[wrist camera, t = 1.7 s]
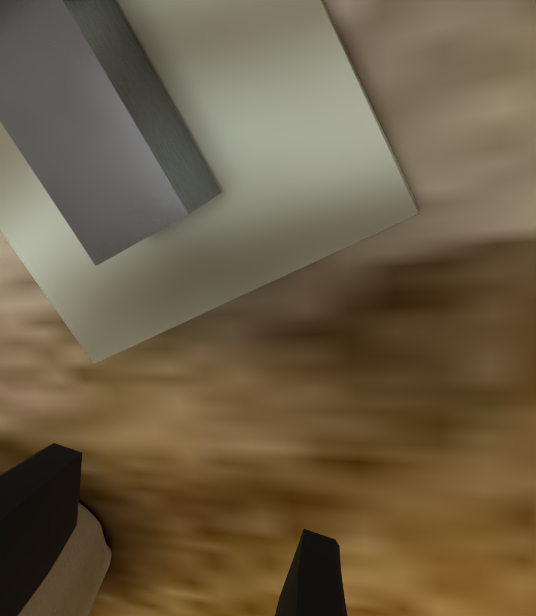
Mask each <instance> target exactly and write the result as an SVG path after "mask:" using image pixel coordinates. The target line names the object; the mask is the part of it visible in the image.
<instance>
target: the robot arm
mask: <svg viewBox="0 0 536 616" xmlns="http://www.w3.org/2000/svg"><path fill="white" fill-rule="evenodd" d="M81 461H82V453H81V452H78V451H75V450H72V449H69V448H67V447H64V446H61V445H58V444H55V443H54V444H51V445H49V446H48V447H46V448H44V449H43V450H41V451H39V452H38V453H36V454H34V455H33V456H31V457H29V458H28V459H26V460H25V461H23V462H21V463H20V464H18V465H16V466H15V467H13V468H12V469H10V470H8V471H7V472H5V473H3V474H2V475H0V616H18V615H19V614H20V612H21V611H22V609H23V608H24V607H25V605H26V604H27V603H28V601H29V600H30V599H31V597H32V596H33V594H34V593H35V592H36V590H37V589H38V588H39V586H40V585H41V583H42V582H43V581H44V579H45V578H46V576H47V575H48V573H49V572H50V570H51V569H52V567H53V565H54V564H55V562H56V560H57V559H58V557H59V555H60V554H61V552H62V550H63V548H64V547H65V545H66V543H67V541H68V540H69V538H70V536H71V534H72V533H73V531H74V529H75V527H76V526H77V517H78V503H79V489H80V475H81ZM275 616H347V611H346V604H345V598H344V591H343V583H342V575H341V564H340V549H339V545H338V543H337V541H336V540H335V539H332V538H329V537H326V536H323V535H320V534H317V533H314V532H312V531H309V530H306V529H304V530H303V533H302V536H301V539H300V541H299V544H298V547H297V550H296V553H295V555H294V558H293V561H292V564H291V567H290V570H289V572H288V575H287V578H286V581H285V584H284V586H283V589H282V592H281V595H280V598H279V602H278V606H277V610H276V614H275Z"/></svg>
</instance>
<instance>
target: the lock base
mask: <svg viewBox="0 0 536 616" xmlns="http://www.w3.org/2000/svg"><path fill="white" fill-rule="evenodd" d="M113 1H114V3H115V4H116V6H117V8H118V10H119V12H120V13H121V15H122V17H123V19H124V20H125V22H126V24H127V26H128V28H129V29H130V31H131V33H132V35H133V36H134V38H135V40H136V42H137V44H138V45H139V47H140V49H141V51H142V52H143V54H144V56H145V58H146V60H147V61H148V63H149V65H150V67H151V68H152V70H153V72H154V74H155V76H156V77H157V79H158V81H159V83H160V84H161V86H162V88H163V90H164V92H165V93H166V95H167V97H168V99H169V100H170V102H171V104H172V106H173V108H174V109H175V111H176V113H177V115H178V116H179V118H180V120H181V122H182V124H183V125H184V127H185V129H186V131H187V132H188V134H189V136H190V138H191V139H192V141H193V143H194V145H195V147H196V148H197V150H198V152H199V154H200V155H201V157H202V159H203V161H204V163H205V164H206V166H207V168H208V170H209V171H210V173H211V175H212V177H213V179H214V180H215V182H216V184H217V186H218V187H219V189H220V191H221V193H220V194H219V195H217V196H216V197H214V198H213V199H211V200H210V201H208V202H207V203H205V204H204V205H202V206H201V207H199V208H198V209H196V210H195V211H193V212H192V213H190V214H189V215H187V216H185V217H183V218H181V219H180V220H178V221H176V222H174V223H172V224H171V225H169V226H167V227H165V228H163V229H162V230H160V231H158V232H156V233H154V234H153V235H151V236H149V237H147V238H146V239H144V240H142V241H140V242H138V243H137V244H135V245H133V246H131V247H129V248H128V249H126V250H124V251H122V252H120V253H119V254H117V255H115V256H113V257H111V258H110V259H108V260H106V261H104V262H103V263H101V264H99V265H97V266H95V264H94V263H93V261H92V260H91V258H90V257H89V255H88V254H87V252H86V251H85V249H84V248H83V246H82V244H81V243H80V241H79V240H78V238H77V237H76V235H75V234H74V232H73V231H72V229H71V228H70V226H69V225H68V223H67V222H66V220H65V219H64V217H63V216H62V214H61V213H60V211H59V210H58V208H57V207H56V205H55V204H54V202H53V201H52V199H51V197H50V196H49V194H48V193H47V191H46V190H45V188H44V187H43V185H42V184H41V182H40V181H39V179H38V178H37V176H36V175H35V173H34V172H33V170H32V169H31V167H30V166H29V164H28V163H27V161H26V160H25V158H24V157H23V155H22V154H21V152H20V150H19V149H18V147H17V146H16V144H15V143H14V141H13V140H12V138H11V137H10V135H9V134H8V132H7V131H6V129H5V128H4V126H3V125H2V123H1V122H0V231H1V232H2V234H3V235H4V236H5V238H6V239H7V241H8V242H9V244H10V245H11V246H12V248H13V249H14V251H15V252H16V254H17V255H18V256H19V258H20V259H21V261H22V262H23V264H24V265H25V266H26V268H27V269H28V271H29V272H30V274H31V275H32V276H33V278H34V279H35V281H36V282H37V284H38V285H39V286H40V288H41V289H42V291H43V292H44V294H45V295H46V296H47V298H48V299H49V301H50V302H51V304H52V305H53V306H54V308H55V309H56V311H57V312H58V314H59V315H60V316H61V318H62V319H63V321H64V322H65V324H66V325H67V326H68V328H69V329H70V331H71V332H72V334H73V335H74V336H75V338H76V339H77V341H78V342H79V344H80V345H81V346H82V348H83V349H84V351H85V352H86V354H87V355H88V356H89V358H90V359H91V361H92V362H93V364H95V363H97V362H100V361H102V360H104V359H106V358H108V357H110V356H113V355H115V354H117V353H119V352H121V351H123V350H126V349H128V348H130V347H132V346H134V345H136V344H139V343H141V342H143V341H145V340H147V339H149V338H152V337H154V336H156V335H158V334H160V333H162V332H165V331H167V330H169V329H171V328H173V327H175V326H177V325H180V324H182V323H184V322H186V321H188V320H190V319H193V318H195V317H197V316H199V315H201V314H203V313H206V312H208V311H210V310H212V309H214V308H216V307H219V306H221V305H223V304H225V303H227V302H229V301H232V300H234V299H236V298H238V297H240V296H242V295H245V294H247V293H249V292H251V291H253V290H255V289H258V288H260V287H262V286H264V285H266V284H268V283H271V282H273V281H275V280H277V279H279V278H281V277H284V276H286V275H288V274H290V273H292V272H294V271H297V270H299V269H301V268H303V267H305V266H307V265H310V264H312V263H314V262H316V261H318V260H320V259H323V258H325V257H327V256H329V255H331V254H333V253H336V252H338V251H340V250H342V249H344V248H346V247H349V246H351V245H353V244H355V243H357V242H359V241H362V240H364V239H366V238H368V237H370V236H372V235H375V234H377V233H379V232H381V231H383V230H385V229H388V228H390V227H392V226H394V225H396V224H398V223H401V222H403V221H405V220H407V219H409V218H411V217H414V216H416V215H418V214H419V212H418V207H417V204H416V201H415V199H414V197H413V195H412V193H411V190H410V188H409V186H408V184H407V182H406V180H405V177H404V175H403V173H402V171H401V169H400V166H399V164H398V162H397V160H396V158H395V156H394V153H393V151H392V149H391V147H390V145H389V142H388V140H387V138H386V136H385V134H384V131H383V129H382V127H381V125H380V123H379V121H378V118H377V116H376V114H375V112H374V110H373V107H372V105H371V103H370V101H369V99H368V96H367V94H366V92H365V90H364V88H363V86H362V83H361V81H360V79H359V77H358V75H357V72H356V70H355V68H354V66H353V64H352V62H351V59H350V57H349V55H348V53H347V51H346V48H345V46H344V44H343V42H342V40H341V37H340V35H339V33H338V31H337V29H336V27H335V24H334V22H333V20H332V18H331V16H330V13H329V11H328V9H327V7H326V5H325V2H324V0H113Z"/></svg>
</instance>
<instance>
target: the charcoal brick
mask: <svg viewBox="0 0 536 616" xmlns="http://www.w3.org/2000/svg"><path fill="white" fill-rule="evenodd" d="M0 122H1V123H2V125H3V126H4V128H5V129H6V131H7V132H8V134H9V135H10V137H11V138H12V140H13V141H14V143H15V144H16V146H17V147H18V149H19V150H20V152H21V154H22V155H23V157H24V158H25V160H26V161H27V163H28V164H29V166H30V167H31V169H32V170H33V172H34V173H35V175H36V176H37V178H38V179H39V181H40V182H41V184H42V185H43V187H44V188H45V190H46V191H47V193H48V194H49V196H50V197H51V199H52V201H53V202H54V204H55V205H56V207H57V208H58V210H59V211H60V213H61V214H62V216H63V217H64V219H65V220H66V222H67V223H68V225H69V226H70V228H71V229H72V231H73V232H74V234H75V235H76V237H77V238H78V240H79V241H80V243H81V244H82V246H83V248H84V249H85V251H86V252H87V254H88V255H89V257H90V258H91V260H92V261H93V263H94V264H95V266H97V265H99V264H101V263H103V262H104V261H106V260H108V259H110V258H111V257H113V256H115V255H117V254H119V253H120V252H122V251H124V250H126V249H128V248H129V247H131V246H133V245H135V244H137V243H138V242H140V241H142V240H144V239H146V238H147V237H149V236H151V235H153V234H154V233H156V232H158V231H160V230H162V229H163V228H165V227H167V226H169V225H171V224H172V223H174V222H176V221H178V220H180V219H181V218H183V217H185V216H187V215H189V214H190V213H192V212H193V211H195V210H196V209H198V208H199V207H201V206H202V205H204V204H205V203H207V202H208V201H210V200H211V199H213V198H214V197H216V196H217V195H219V194H220V193H221V191H220V189H219V187H218V186H217V184H216V182H215V180H214V179H213V177H212V175H211V173H210V171H209V170H208V168H207V166H206V164H205V163H204V161H203V159H202V157H201V155H200V154H199V152H198V150H197V148H196V147H195V145H194V143H193V141H192V139H191V138H190V136H189V134H188V132H187V131H186V129H185V127H184V125H183V124H182V122H181V120H180V118H179V116H178V115H177V113H176V111H175V109H174V108H173V106H172V104H171V102H170V100H169V99H168V97H167V95H166V93H165V92H164V90H163V88H162V86H161V84H160V83H159V81H158V79H157V77H156V76H155V74H154V72H153V70H152V68H151V67H150V65H149V63H148V61H147V60H146V58H145V56H144V54H143V52H142V51H141V49H140V47H139V45H138V44H137V42H136V40H135V38H134V36H133V35H132V33H131V31H130V29H129V28H128V26H127V24H126V22H125V20H124V19H123V17H122V15H121V13H120V12H119V10H118V8H117V6H116V4H115V3H114V1H113V0H0Z"/></svg>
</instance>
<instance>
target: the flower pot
mask: <svg viewBox="0 0 536 616" xmlns="http://www.w3.org/2000/svg"><path fill="white" fill-rule="evenodd" d="M110 561H111V549H110V548H109V547H108V546H107V544H106V542H105V538H104V535H103V531H102V527H101V524H100V523H99V521H98V520H97V519H96V518H95V517H94V516H93V514H92V513H91V512H89V511H88V510H87V509H86V508H85V507H84V506H82V505H81V504H80V503H78V517H77V526H76V527H75V529H74V531H73V533H72V534H71V536H70V538H69V540H68V541H67V543H66V545H65V547H64V548H63V550H62V552H61V554H60V555H59V557H58V559H57V560H56V562H55V564H54V565H53V567H52V569H51V570H50V572H49V573H48V575H47V576H46V578H45V579H44V581H43V582H42V583H41V585H40V586H39V588H38V589H37V590H36V592H35V593H34V594H33V596H32V597H31V599H30V600H29V601H28V603H27V604H26V605H25V607H24V608H23V609H22V611H21V612H20V614H19V615H18V616H88V615H89V612H90V610H91V607H92V605H93V603H94V600H95V598H96V595H97V593H98V591H99V588H100V586H101V584H102V581H103V579H104V577H105V575H106V572H107V570H108V568H109V565H110Z"/></svg>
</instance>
